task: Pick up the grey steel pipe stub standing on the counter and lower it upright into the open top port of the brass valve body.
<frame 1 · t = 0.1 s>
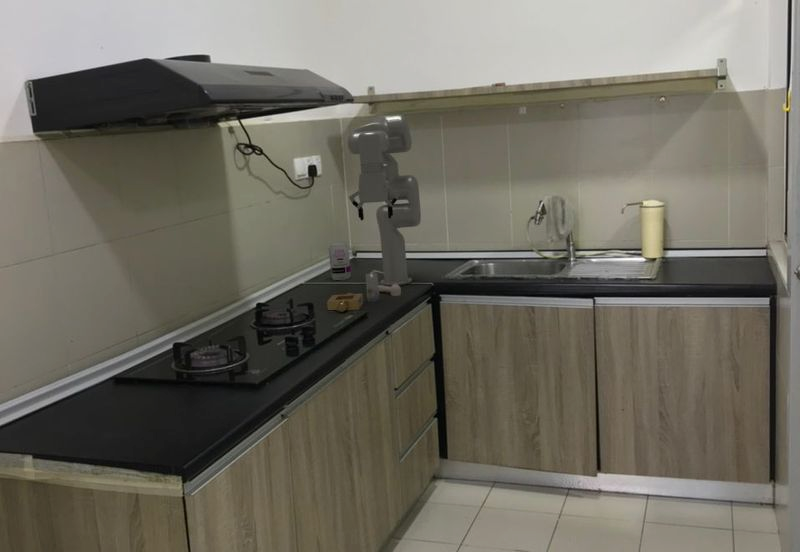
hand: (376, 219, 292), 31 cm above the table, tool pointing down, fingers open, 9 cm apart
pipe stub: (373, 301, 310), on the table
faucet: (383, 294, 323), on the table
supplement can: (341, 279, 361), on the table
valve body: (345, 307, 303), on the table
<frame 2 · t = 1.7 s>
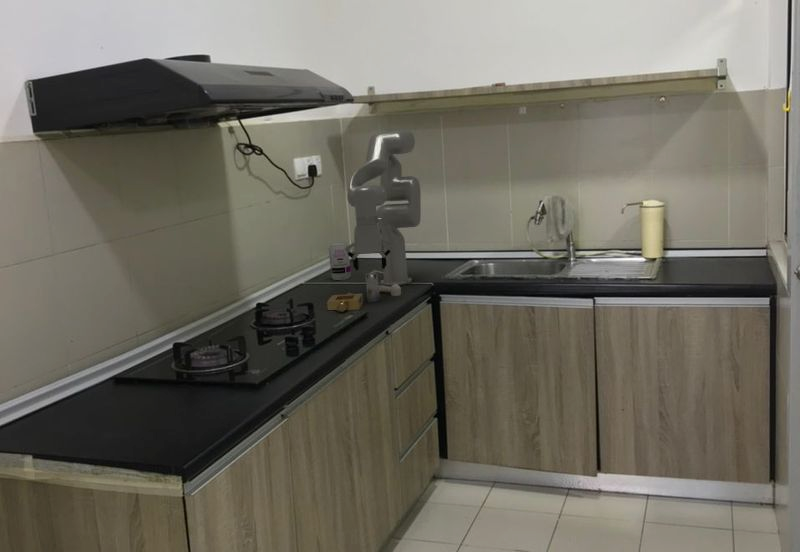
hand: (370, 269, 307), 12 cm above the table, tool pointing down, fingers open, 9 cm apart
nothing on the table moved.
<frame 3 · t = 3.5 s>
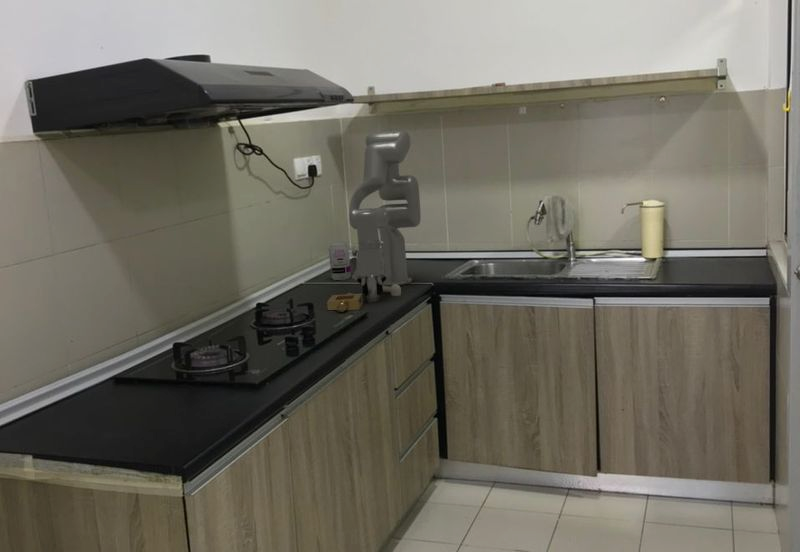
hand: (373, 294, 309), 2 cm above the table, tool pointing down, fingers closed on pipe stub, 4 cm apart
pipe stub: (373, 301, 310), on the table, touching gripper
everything else where it was.
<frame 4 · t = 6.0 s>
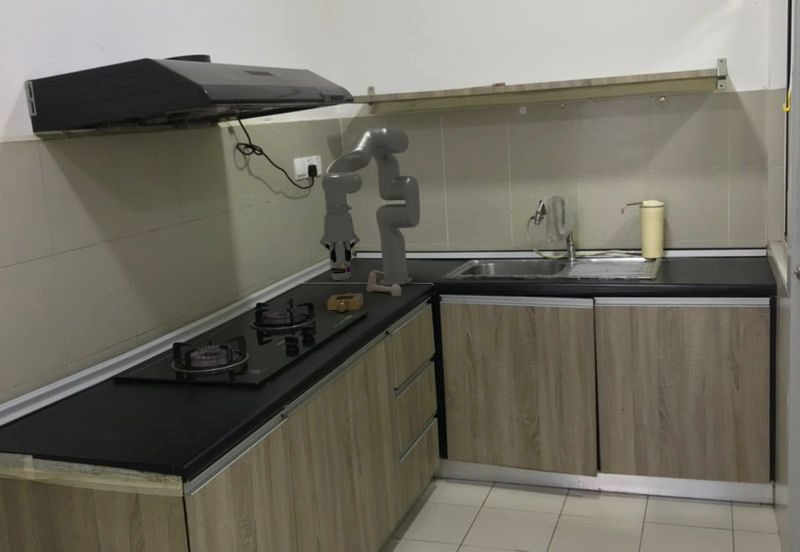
hand: (341, 261, 300), 17 cm above the table, tool pointing down, fingers closed on pipe stub, 4 cm apart
pipe stub: (342, 267, 300), point 14 cm above the table, touching gripper
everything else where it was.
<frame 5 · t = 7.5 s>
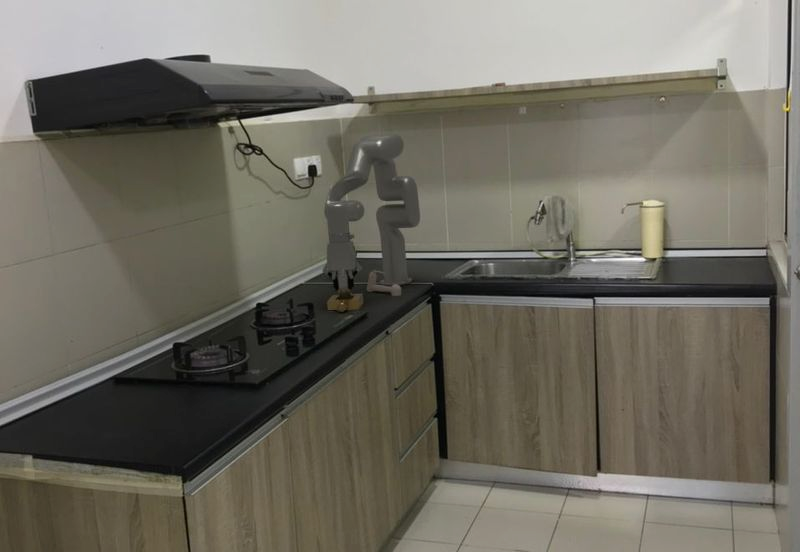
hand: (344, 289, 301), 7 cm above the table, tool pointing down, fingers closed on pipe stub, 4 cm apart
pipe stub: (344, 295, 302), point 4 cm above the table, touching gripper
everything else where it was.
when the fingers open (4 cm above the table, at t = 8.7 s): pipe stub drops 2 cm, resting in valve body.
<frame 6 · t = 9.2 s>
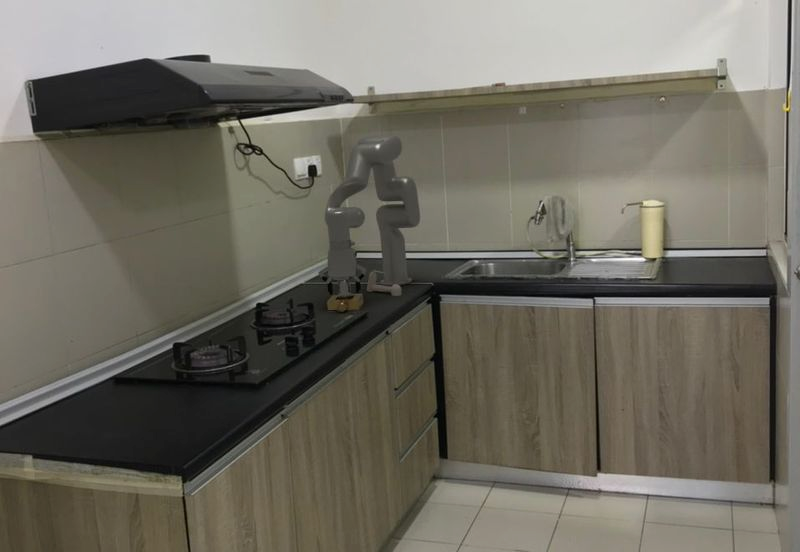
hand: (344, 293, 302), 5 cm above the table, tool pointing down, fingers open, 9 cm apart
pipe stub: (346, 307, 303), resting in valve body
everything else where it was.
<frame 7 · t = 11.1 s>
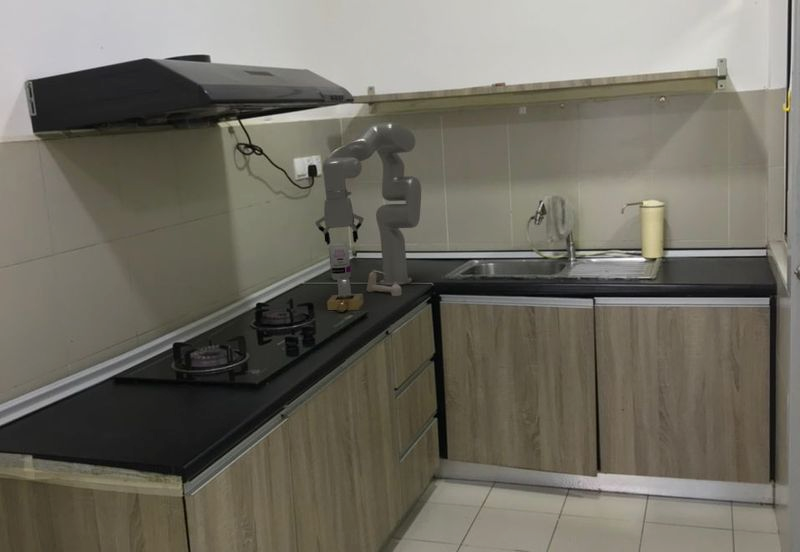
hand: (341, 242, 305), 22 cm above the table, tool pointing down, fingers open, 9 cm apart
nothing on the table moved.
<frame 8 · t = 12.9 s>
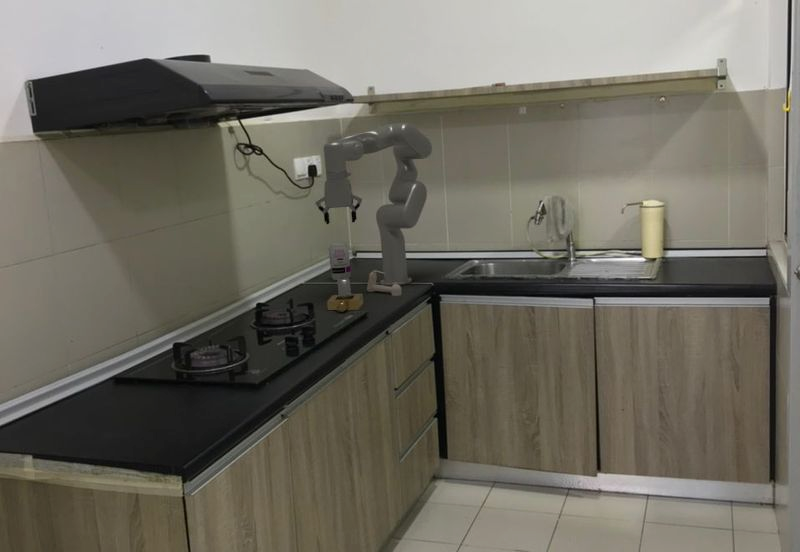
hand: (340, 222, 315), 28 cm above the table, tool pointing down, fingers open, 9 cm apart
nothing on the table moved.
at the end: pipe stub 0.1 cm off-centre on the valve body, point 0.0 cm above the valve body's base; pipe stub tilted 0°; the gripper is holding nothing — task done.
